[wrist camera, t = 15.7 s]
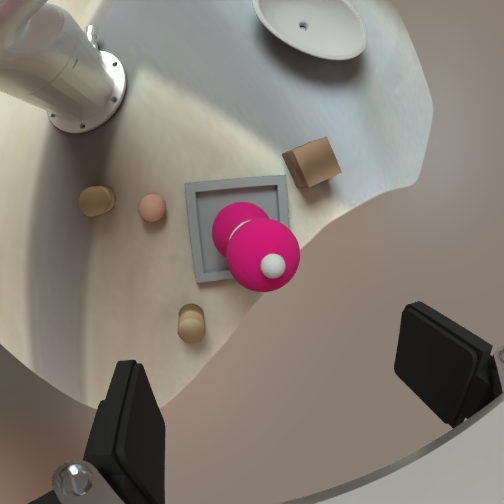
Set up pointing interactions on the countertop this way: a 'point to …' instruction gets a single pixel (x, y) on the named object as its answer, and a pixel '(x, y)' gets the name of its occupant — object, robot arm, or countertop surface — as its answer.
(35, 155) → the countertop surface
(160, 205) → the ball
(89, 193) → the cork
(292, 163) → the walnut block
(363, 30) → the dish
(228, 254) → the pepper mill
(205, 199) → the tray
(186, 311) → the cork
